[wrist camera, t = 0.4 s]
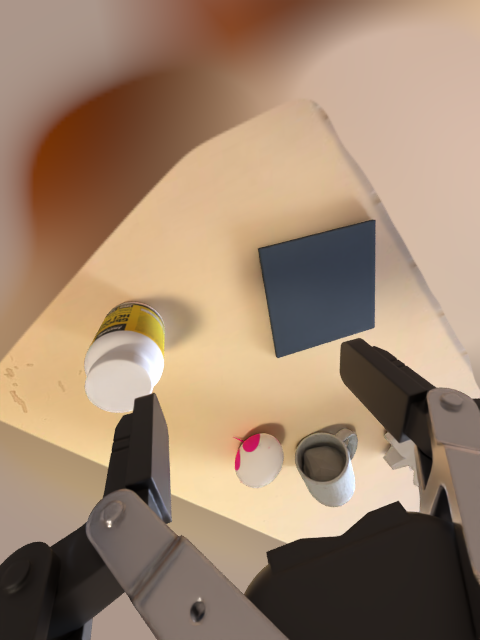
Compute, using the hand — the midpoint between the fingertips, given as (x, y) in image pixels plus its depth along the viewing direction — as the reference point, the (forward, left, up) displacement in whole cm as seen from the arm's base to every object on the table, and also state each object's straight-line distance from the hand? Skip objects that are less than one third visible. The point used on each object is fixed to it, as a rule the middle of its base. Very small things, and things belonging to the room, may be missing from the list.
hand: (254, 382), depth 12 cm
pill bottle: (+4, -8, -21) cm, 22 cm away
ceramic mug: (+32, +12, -21) cm, 40 cm away
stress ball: (+26, +1, -21) cm, 33 cm away
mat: (+6, +14, -20) cm, 25 cm away
